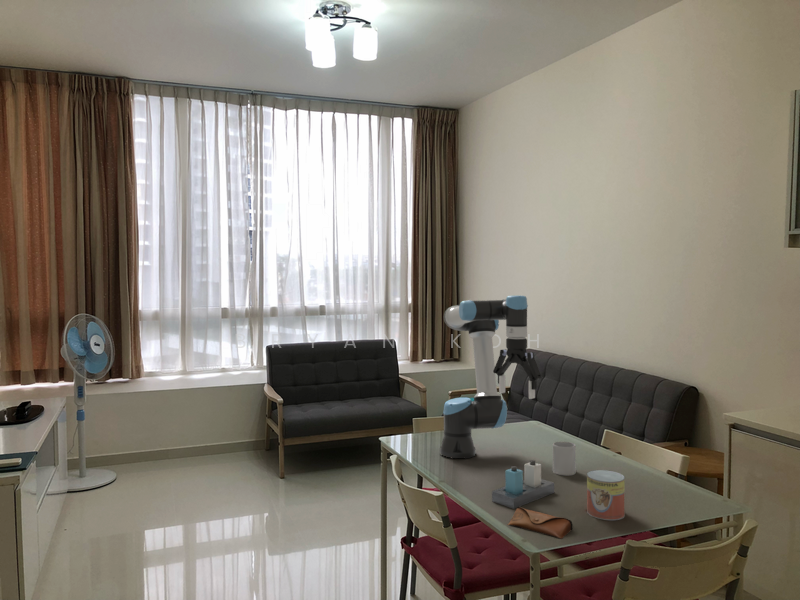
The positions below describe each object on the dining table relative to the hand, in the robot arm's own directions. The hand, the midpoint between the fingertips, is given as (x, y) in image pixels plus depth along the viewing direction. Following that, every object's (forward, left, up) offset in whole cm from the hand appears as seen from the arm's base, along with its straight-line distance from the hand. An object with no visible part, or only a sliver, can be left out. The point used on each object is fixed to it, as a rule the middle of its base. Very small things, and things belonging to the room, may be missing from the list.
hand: (516, 395), depth 217 cm
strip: (+13, -13, -31) cm, 36 cm away
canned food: (+38, -4, -32) cm, 50 cm away
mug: (+5, +21, -32) cm, 38 cm away
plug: (+13, -18, -31) cm, 38 cm away
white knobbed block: (+13, -8, -31) cm, 34 cm away
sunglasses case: (+30, -28, -32) cm, 52 cm away
